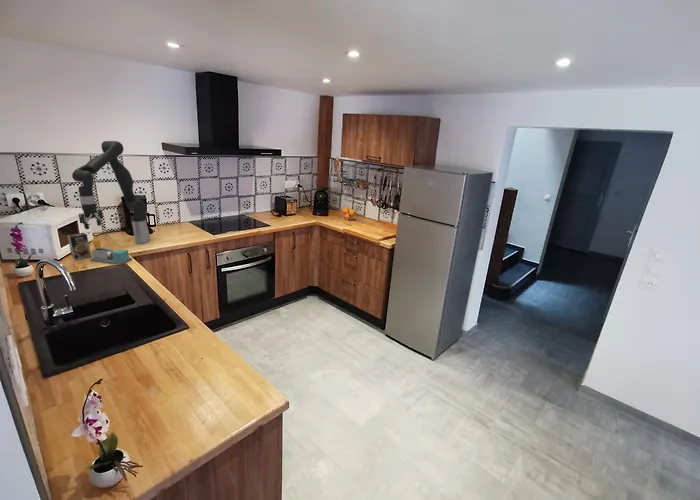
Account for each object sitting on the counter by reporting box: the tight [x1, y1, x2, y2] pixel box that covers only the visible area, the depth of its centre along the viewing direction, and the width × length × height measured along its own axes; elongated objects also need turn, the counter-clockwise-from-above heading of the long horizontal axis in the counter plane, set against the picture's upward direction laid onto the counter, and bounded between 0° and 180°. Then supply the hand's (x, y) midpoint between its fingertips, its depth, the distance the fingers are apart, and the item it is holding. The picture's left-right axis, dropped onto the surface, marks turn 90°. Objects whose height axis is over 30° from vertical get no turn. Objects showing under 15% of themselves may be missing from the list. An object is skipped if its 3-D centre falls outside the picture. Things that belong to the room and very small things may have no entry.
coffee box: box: [66, 232, 92, 261], centre depth 226 cm, size 9×6×16 cm
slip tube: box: [92, 239, 113, 258], centre depth 225 cm, size 12×4×11 cm, turn 78°
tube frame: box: [90, 246, 133, 266], centre depth 225 cm, size 22×10×8 cm, turn 78°
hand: (93, 227), depth 221 cm, fingers open, 8 cm apart
